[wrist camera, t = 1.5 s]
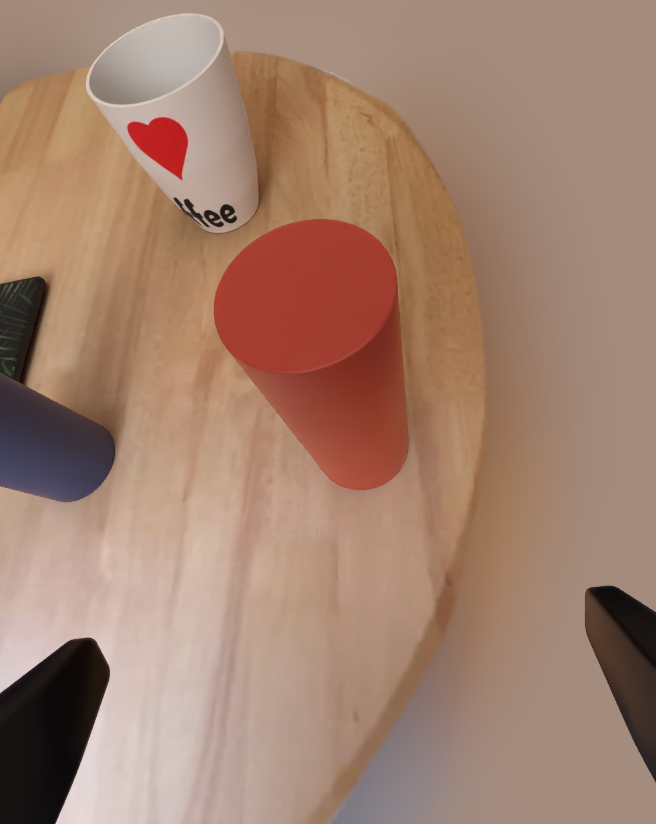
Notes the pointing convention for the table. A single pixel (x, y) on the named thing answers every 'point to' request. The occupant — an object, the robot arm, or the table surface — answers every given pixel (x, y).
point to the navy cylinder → (49, 446)
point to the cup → (182, 116)
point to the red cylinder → (323, 343)
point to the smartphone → (18, 322)
